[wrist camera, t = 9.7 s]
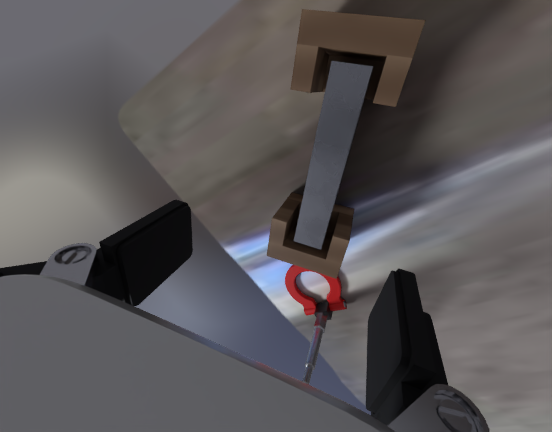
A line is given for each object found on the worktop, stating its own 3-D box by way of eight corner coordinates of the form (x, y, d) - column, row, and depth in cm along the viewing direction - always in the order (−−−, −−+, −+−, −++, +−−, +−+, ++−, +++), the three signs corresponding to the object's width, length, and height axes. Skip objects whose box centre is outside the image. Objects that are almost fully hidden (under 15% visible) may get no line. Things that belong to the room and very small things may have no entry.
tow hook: (278, 265, 39) (304, 311, 41) (239, 330, 28) (277, 389, 30) (326, 251, 35) (353, 303, 37) (303, 321, 24) (343, 389, 26)
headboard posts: (321, 30, 23) (301, 9, 17) (410, 39, 22) (425, 20, 15) (286, 224, 34) (266, 255, 28) (343, 241, 33) (336, 278, 26)
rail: (339, 65, 22) (331, 60, 18) (372, 70, 22) (373, 66, 18) (304, 220, 31) (293, 241, 27) (328, 226, 30) (320, 249, 26)
